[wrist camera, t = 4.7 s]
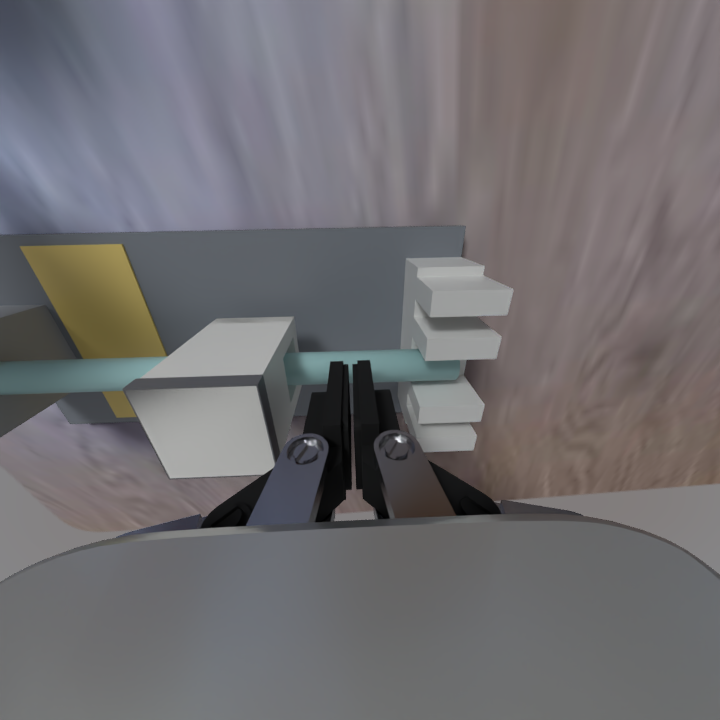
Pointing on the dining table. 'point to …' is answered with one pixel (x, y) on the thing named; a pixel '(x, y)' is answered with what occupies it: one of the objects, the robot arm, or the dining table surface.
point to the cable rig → (247, 315)
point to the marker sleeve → (220, 399)
